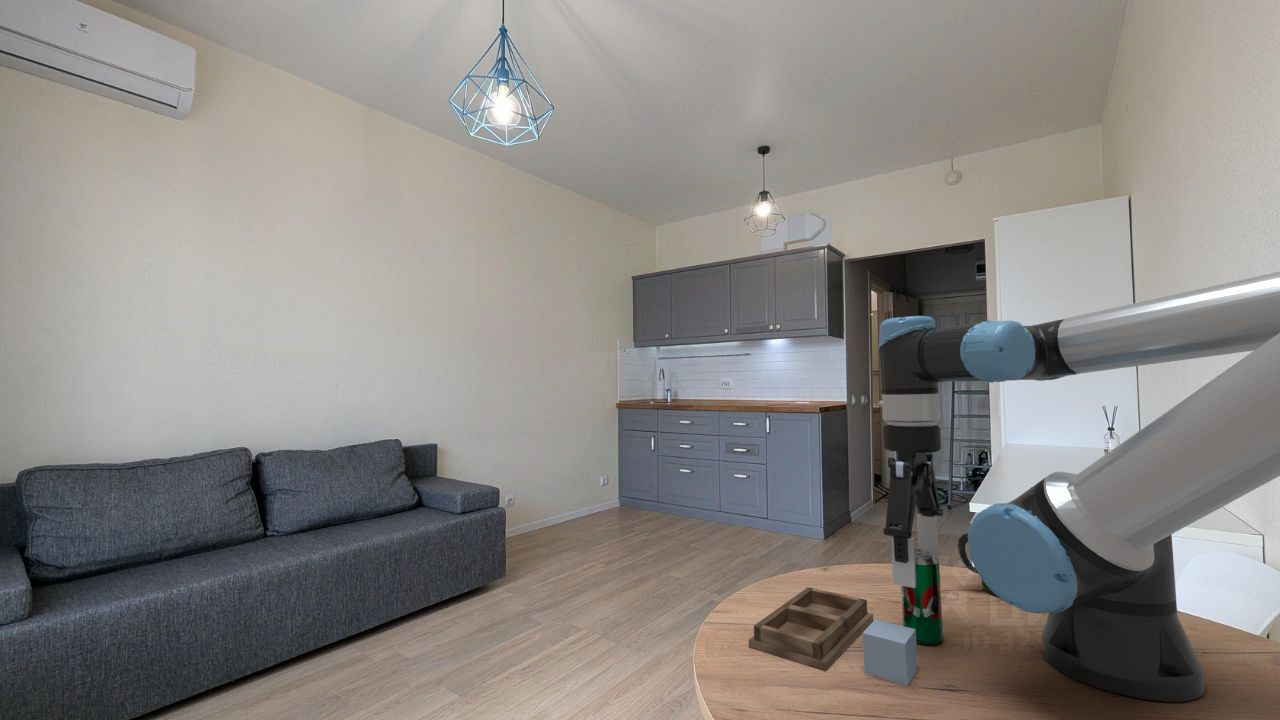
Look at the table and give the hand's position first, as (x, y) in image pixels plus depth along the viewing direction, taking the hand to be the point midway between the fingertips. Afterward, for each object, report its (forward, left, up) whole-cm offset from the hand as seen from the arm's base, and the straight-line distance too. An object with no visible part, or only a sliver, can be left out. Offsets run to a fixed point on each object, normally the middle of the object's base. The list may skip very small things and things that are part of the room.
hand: (917, 571), depth 79 cm
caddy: (+13, +8, -9) cm, 17 cm away
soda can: (0, 0, -9) cm, 9 cm away
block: (+1, +12, -9) cm, 15 cm away
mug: (-7, -27, -10) cm, 29 cm away
